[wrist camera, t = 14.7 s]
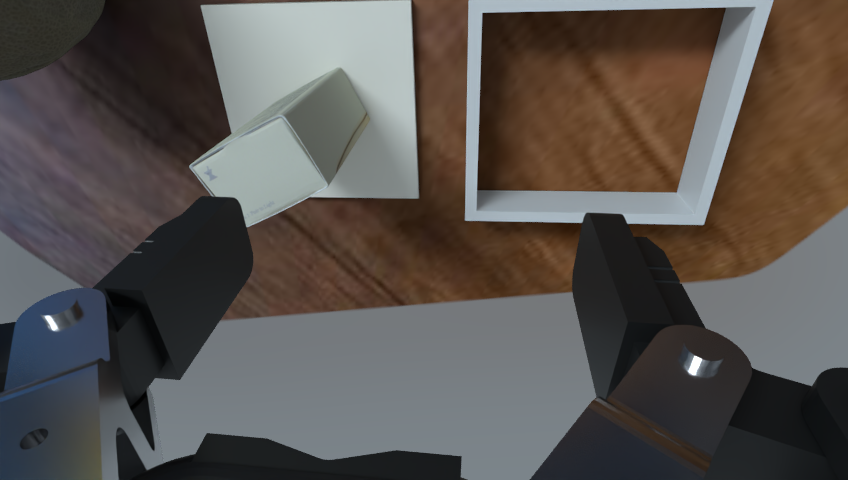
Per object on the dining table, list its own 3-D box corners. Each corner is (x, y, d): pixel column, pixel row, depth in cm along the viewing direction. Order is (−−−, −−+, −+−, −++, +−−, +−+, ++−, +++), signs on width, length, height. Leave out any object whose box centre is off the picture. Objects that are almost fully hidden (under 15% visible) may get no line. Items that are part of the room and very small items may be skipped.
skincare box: (304, 153, 37) (237, 235, 27) (269, 101, 35) (182, 167, 25) (374, 118, 35) (332, 190, 25) (341, 60, 33) (280, 113, 23)
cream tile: (204, 4, 32) (200, 5, 32) (411, -1, 31) (410, 0, 31) (249, 193, 40) (246, 196, 39) (419, 195, 38) (418, 198, 38)
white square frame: (469, -8, 31) (468, -3, 28) (745, -15, 29) (776, -10, 26) (465, 199, 38) (465, 220, 35) (685, 202, 37) (703, 225, 34)
